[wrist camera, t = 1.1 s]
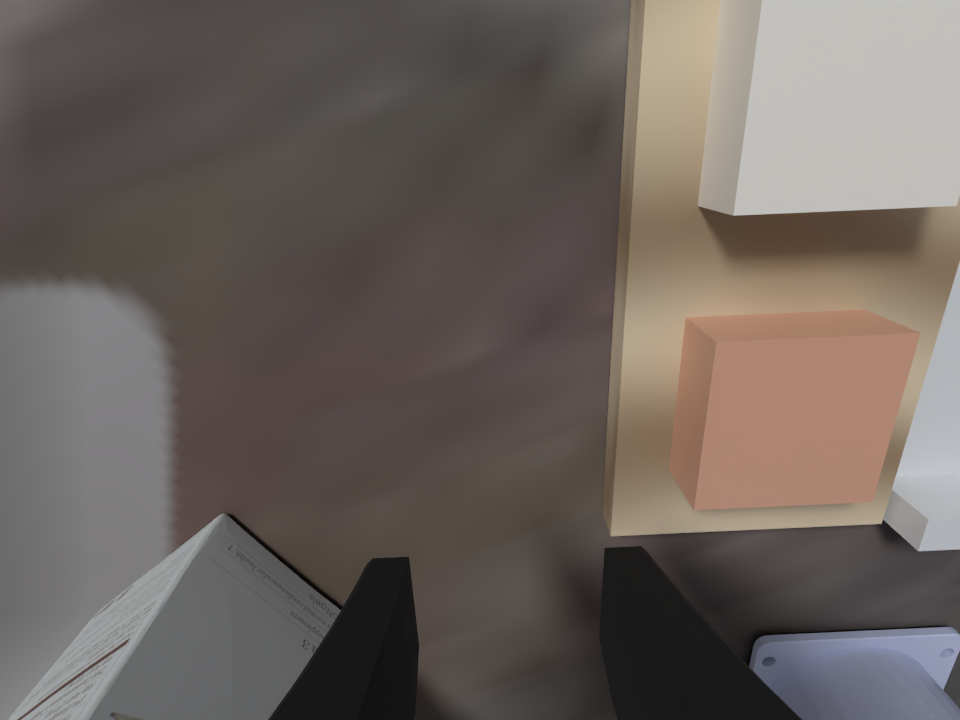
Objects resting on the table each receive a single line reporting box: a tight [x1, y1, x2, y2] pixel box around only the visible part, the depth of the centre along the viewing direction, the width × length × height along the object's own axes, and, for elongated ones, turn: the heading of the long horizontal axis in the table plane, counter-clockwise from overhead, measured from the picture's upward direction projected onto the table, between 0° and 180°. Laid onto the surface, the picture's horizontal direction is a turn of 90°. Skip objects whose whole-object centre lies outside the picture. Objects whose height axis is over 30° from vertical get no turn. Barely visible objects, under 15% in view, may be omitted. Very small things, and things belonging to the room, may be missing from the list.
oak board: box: [602, 0, 960, 536], centre depth 15 cm, size 18×9×1 cm, turn 2°
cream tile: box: [698, 0, 960, 216], centre depth 12 cm, size 5×5×2 cm
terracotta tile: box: [669, 310, 920, 510], centre depth 15 cm, size 5×5×2 cm
